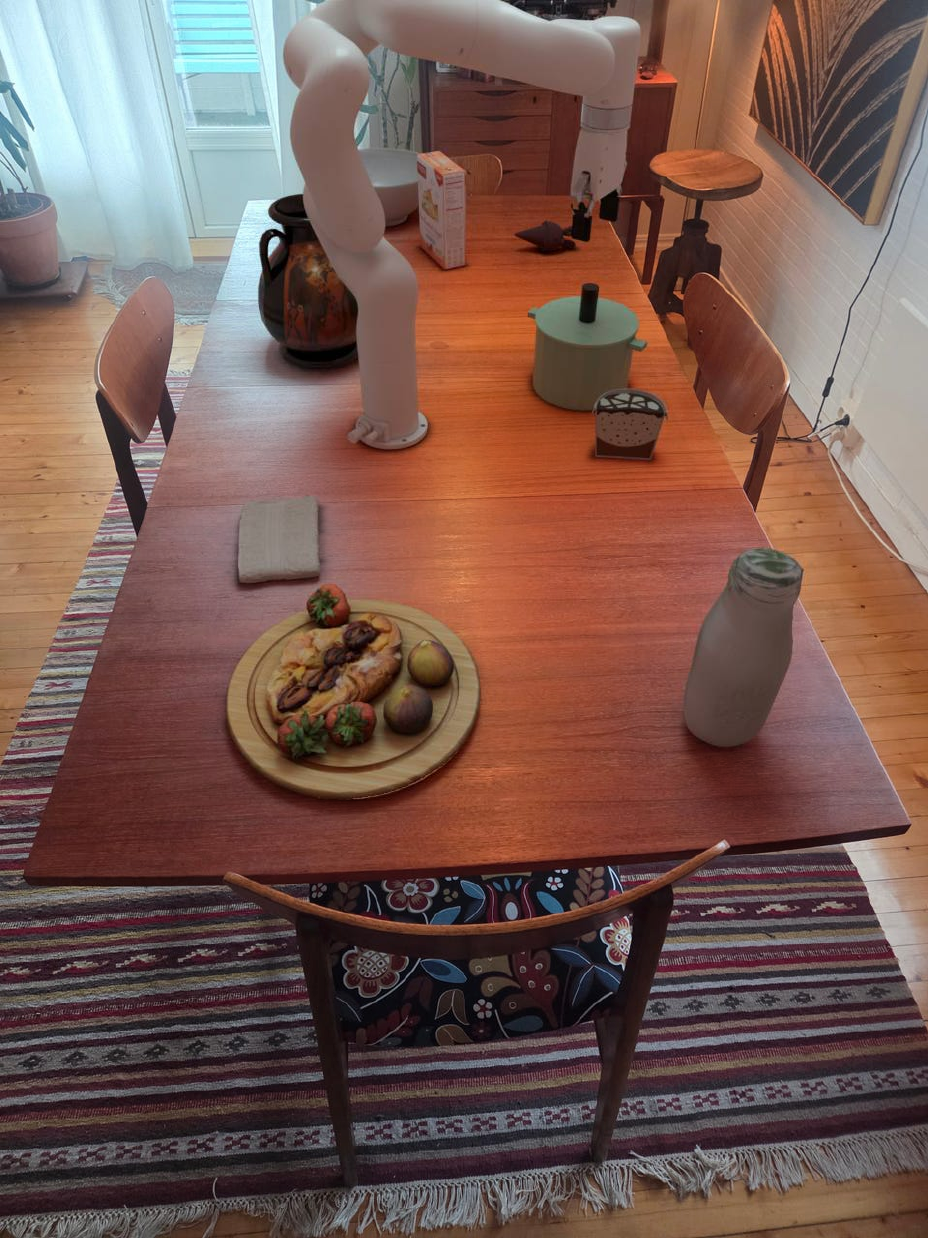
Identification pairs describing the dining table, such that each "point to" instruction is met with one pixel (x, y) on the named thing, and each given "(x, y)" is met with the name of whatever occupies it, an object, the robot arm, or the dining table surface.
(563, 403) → the pot
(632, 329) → the lid
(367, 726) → the wooden plate
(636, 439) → the food container
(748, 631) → the glass bottle
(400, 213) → the decorative bowl
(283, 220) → the amphora vase
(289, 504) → the washcloth
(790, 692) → the dining table surface
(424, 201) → the cracker box
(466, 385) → the dining table surface
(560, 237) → the icecream
